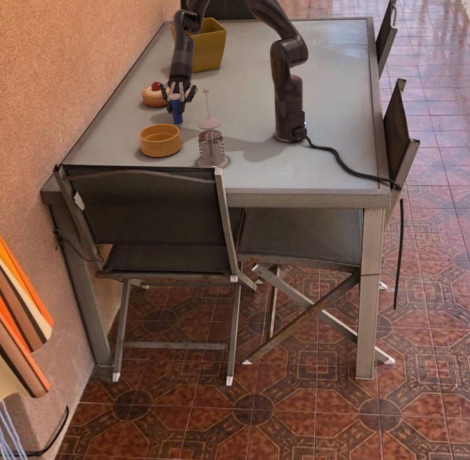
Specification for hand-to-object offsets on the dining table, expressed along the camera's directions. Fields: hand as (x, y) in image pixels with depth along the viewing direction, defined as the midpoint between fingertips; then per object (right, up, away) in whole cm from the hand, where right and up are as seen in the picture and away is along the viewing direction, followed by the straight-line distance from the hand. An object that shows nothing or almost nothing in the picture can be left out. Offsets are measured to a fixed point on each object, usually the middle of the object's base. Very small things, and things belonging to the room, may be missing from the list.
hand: (175, 112), depth 225 cm
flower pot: (+5, +29, +53) cm, 61 cm away
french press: (+14, -19, -18) cm, 30 cm away
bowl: (-4, -13, -8) cm, 16 cm away
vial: (+1, -3, +4) cm, 5 cm away
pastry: (-9, +8, +24) cm, 27 cm away
